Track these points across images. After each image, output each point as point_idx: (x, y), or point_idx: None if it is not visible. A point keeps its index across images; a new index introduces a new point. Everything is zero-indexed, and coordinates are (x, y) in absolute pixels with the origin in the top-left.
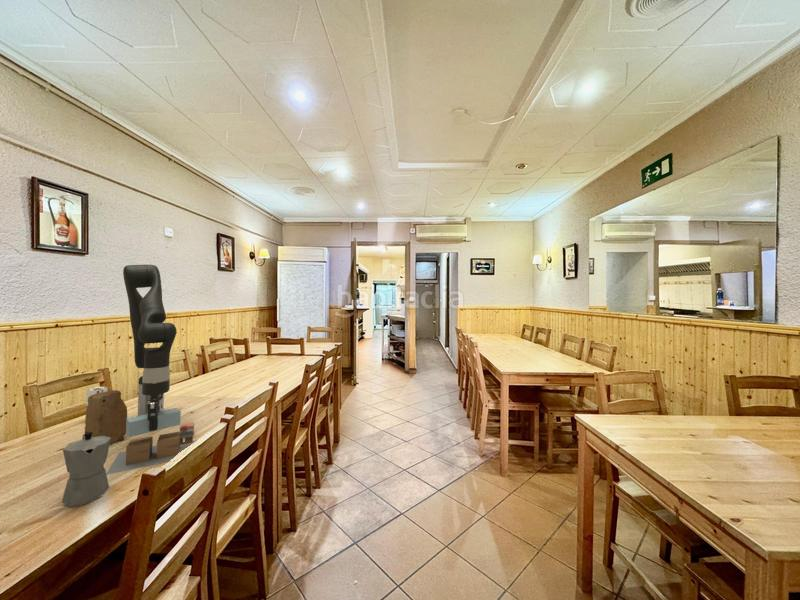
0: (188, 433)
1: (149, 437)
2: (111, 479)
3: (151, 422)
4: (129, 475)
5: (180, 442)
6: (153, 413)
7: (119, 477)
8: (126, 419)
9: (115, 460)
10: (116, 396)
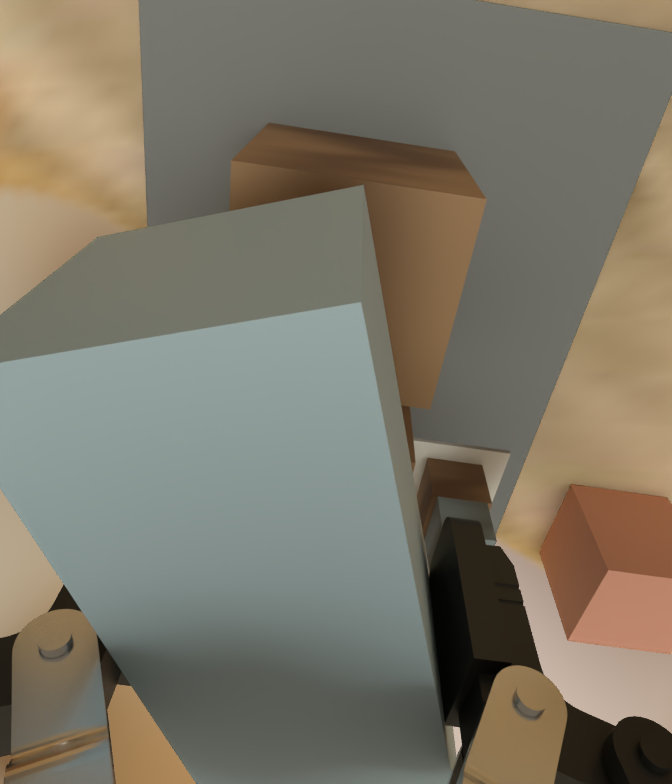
0: None
1: (407, 382)
2: (56, 13)
3: (60, 602)
4: (72, 157)
5: (420, 503)
6: (379, 698)
7: (68, 80)
8: (360, 289)
9: (469, 14)
10: None
